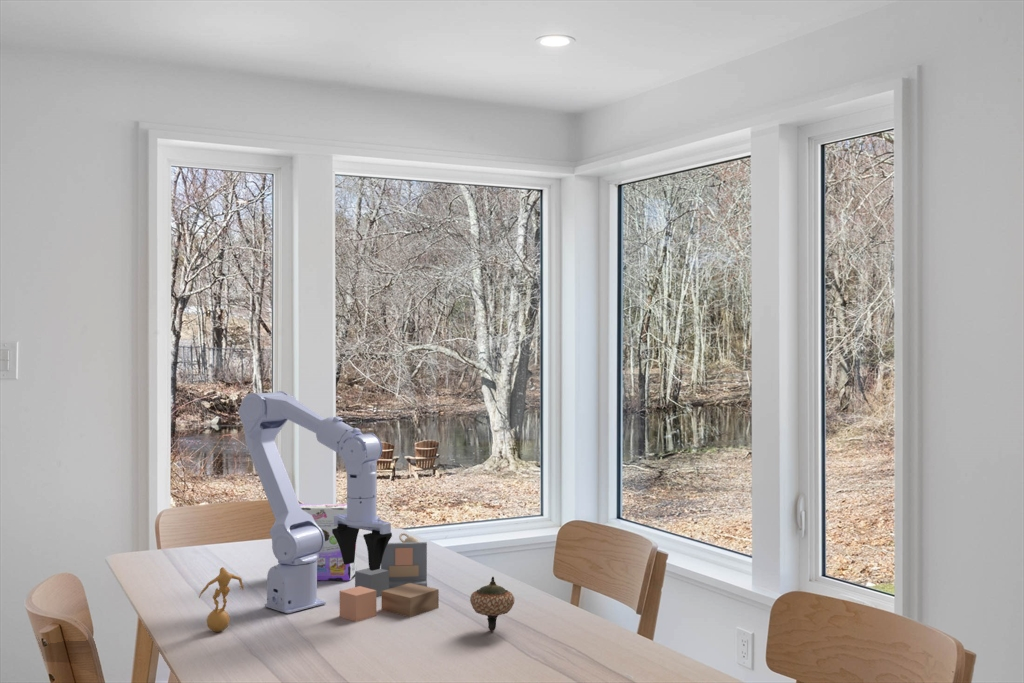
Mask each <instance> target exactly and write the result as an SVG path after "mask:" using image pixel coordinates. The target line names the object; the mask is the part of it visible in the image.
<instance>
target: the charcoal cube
mask: <svg viewBox="0 0 1024 683" xmlns="http://www.w3.org/2000/svg"><path fill="white" fill-rule="evenodd" d="M358 586H362V587H365V588H369V589H373V590H376V598H378V597H382V591H384V590H387V589H390V588H389V571H388V570H384V569H381V568H380V569H377V570H373V571H371V570H370V569H369V567H368V568H364V569H359V570H356V571H355V576H354V587H358Z"/></svg>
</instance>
